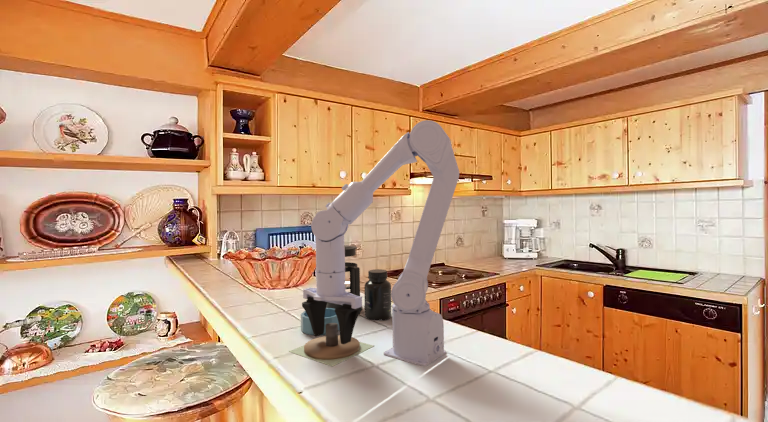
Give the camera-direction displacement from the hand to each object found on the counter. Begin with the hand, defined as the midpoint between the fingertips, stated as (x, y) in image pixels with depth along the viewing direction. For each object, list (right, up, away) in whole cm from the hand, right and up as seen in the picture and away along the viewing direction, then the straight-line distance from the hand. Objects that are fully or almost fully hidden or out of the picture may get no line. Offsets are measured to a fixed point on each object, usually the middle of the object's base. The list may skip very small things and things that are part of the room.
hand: (331, 338), depth 78 cm
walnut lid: (0, -2, 0) cm, 2 cm away
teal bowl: (-4, -2, +13) cm, 14 cm away
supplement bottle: (+9, -2, +22) cm, 23 cm away
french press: (-1, -2, +32) cm, 32 cm away
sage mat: (0, -2, 0) cm, 2 cm away
